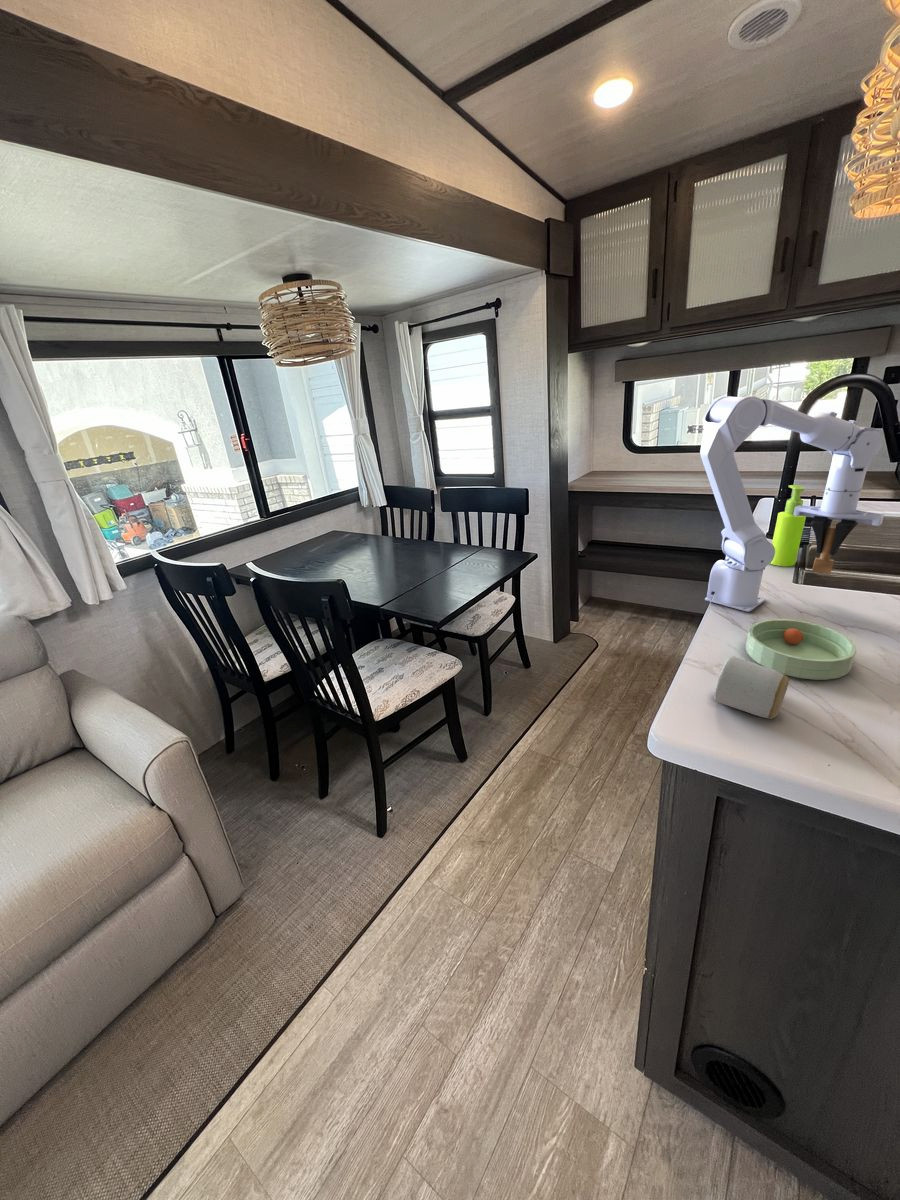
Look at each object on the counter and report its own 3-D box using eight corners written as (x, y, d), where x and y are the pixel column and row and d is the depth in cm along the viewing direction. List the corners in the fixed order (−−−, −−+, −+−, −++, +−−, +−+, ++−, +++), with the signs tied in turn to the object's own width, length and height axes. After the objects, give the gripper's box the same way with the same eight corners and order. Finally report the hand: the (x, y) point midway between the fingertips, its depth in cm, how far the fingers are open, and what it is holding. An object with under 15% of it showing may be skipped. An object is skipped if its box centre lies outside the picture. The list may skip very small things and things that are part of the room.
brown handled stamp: (811, 572, 102) (823, 527, 98) (811, 570, 103) (824, 525, 99) (830, 574, 100) (843, 528, 96) (830, 572, 101) (843, 527, 98)
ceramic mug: (772, 731, 67) (783, 686, 64) (710, 709, 72) (718, 667, 69) (787, 696, 74) (798, 654, 71) (730, 679, 79) (738, 639, 76)
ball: (779, 627, 87) (795, 627, 87) (779, 643, 87) (794, 643, 88) (791, 629, 84) (807, 629, 84) (791, 645, 84) (807, 645, 85)
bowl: (730, 658, 85) (733, 638, 83) (765, 629, 93) (769, 611, 91) (831, 693, 73) (838, 672, 72) (862, 657, 81) (868, 637, 80)
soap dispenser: (790, 558, 126) (806, 483, 118) (798, 566, 120) (816, 488, 112) (764, 557, 128) (779, 483, 120) (771, 566, 122) (787, 489, 114)
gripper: (895, 489, 91) (876, 554, 97) (808, 482, 102) (795, 542, 108) (884, 495, 87) (865, 563, 93) (795, 488, 98) (782, 549, 104)
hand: (826, 552), depth 100 cm, fingers closed on brown handled stamp, 2 cm apart
